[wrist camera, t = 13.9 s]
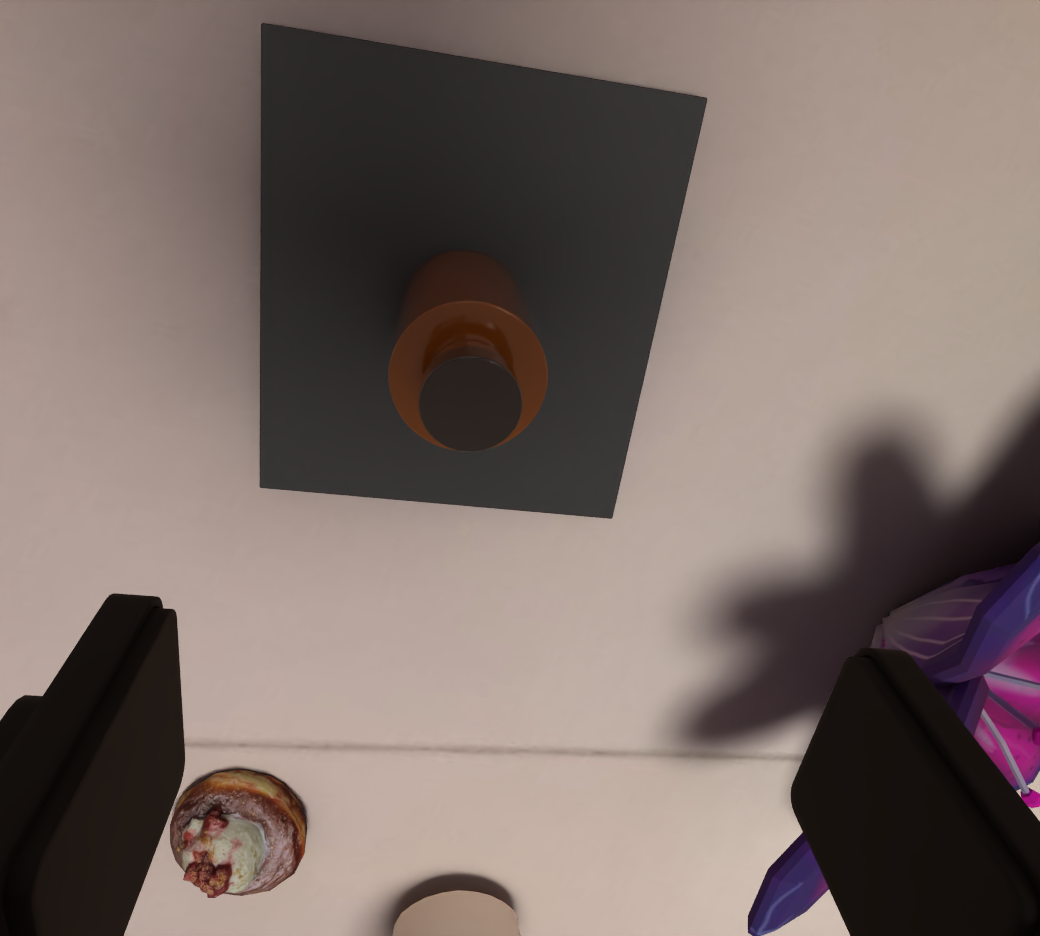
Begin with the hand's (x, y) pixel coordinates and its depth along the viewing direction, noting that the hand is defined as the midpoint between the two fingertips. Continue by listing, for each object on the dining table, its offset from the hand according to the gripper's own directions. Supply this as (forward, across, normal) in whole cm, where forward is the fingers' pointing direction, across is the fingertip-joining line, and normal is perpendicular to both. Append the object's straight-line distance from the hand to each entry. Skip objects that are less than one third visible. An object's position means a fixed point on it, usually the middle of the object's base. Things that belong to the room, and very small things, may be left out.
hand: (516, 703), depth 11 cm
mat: (+24, 0, +1) cm, 24 cm away
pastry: (+23, +9, +32) cm, 41 cm away
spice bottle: (+23, 0, +1) cm, 23 cm away
